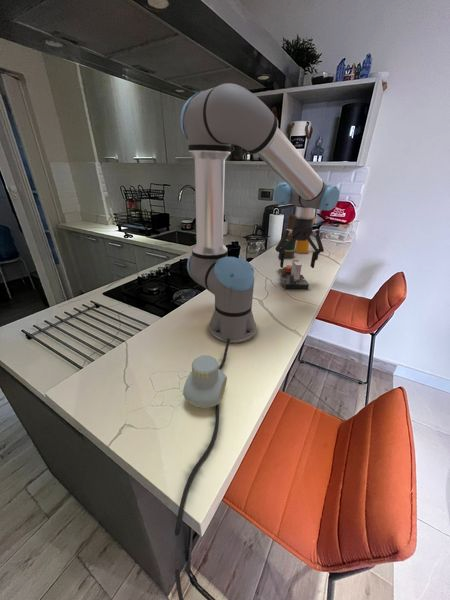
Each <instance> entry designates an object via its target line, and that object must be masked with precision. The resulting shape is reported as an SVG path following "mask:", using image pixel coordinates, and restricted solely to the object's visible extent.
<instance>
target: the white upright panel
mask: <svg viewBox="0 0 450 600" xmlns="http://www.w3.org/2000/svg"><path fill="white" fill-rule="evenodd" d="M291 266H292V269H291V275H290V277H291V279H292V280H293V282H299V278H300V275H301V273H302V267H303V266H302V263H301V262H300V260H299V259H292V262H291Z"/></svg>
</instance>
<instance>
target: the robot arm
mask: <svg viewBox="0 0 450 600" xmlns="http://www.w3.org/2000/svg"><path fill="white" fill-rule="evenodd" d="M179 119H180V120H179V121H180V128H181V132H182V135H183V136H184V137H185V140H186V141H187V146H188V153H189V154H190V156H191V157H192V158H193V160H194V193H195V194H194V195H195V197H194V201H195V233H196V235H195V237H196V243H195V245H193V246H192V248H191V254H190V256H189V257H188V259H187V263H186V269H187V273H188V275H189V276H190V278H191V279H192V280H193V281H194V282H195V283H197V284H198V285H200V286H201V287H203V288H204V289H206V290H207V291H208V292H210V293H211V294H212V295H213V296H214V311H213V313H212V316H211V319H210V322H209V333H210V335H211V337H213V338H214V339H215V340H217V341H219V342H221V343H225V349H224V352H223V357H222V360H221V363H220V365H218V369H219V370H221V371H222V369H223V367H224V365H225V362H226V359H227V354H228V350H229V346H230V344H242V343H245V342H248V341H250V340H251V339H253V337H254V336H255V335H256V330H257V326H256V325H257V324H256V321H255V317H254V315H253V310H252V309H253V308H252V307H253V297H254V287H255V270H254V267H253V265H252V264H251V263H250V262H249V261H247V260H246V259H244V258H241V257H236V256H228V251H229V250H228V247H226V245H225V244H224V220H225V219H224V218H225V216H224V215H225V179H226V178H225V177H226V176H225V175H226V172H225V171H226V170H225V169H226V160H227V158H228V157H229V156H230V155H231V151H232V145H235V146H238V147H240V148H242V149H244V150H245V151H246V153H248V154H249V155H257V156H258V157H259V158H260V159H261V160H262V161H264V163H265V164H266V165H267V166H268V167H269V168H270V169H271V170H272V171H273V172H275V173H276V174H277V176H279V178H281V179H282V180H283V182H278V184H277V185H276V186H275V187H274V189H273V199H274V201H275V203H276V204H277V205H280V206H287V205H292V206H295V212H294V214H295V216H296V217H295V218H294V226H293V229H292V230H288V229H287V228H285V230H284V232H285V233H284V232H283V234H284V235H283V234H282V236H281V238H280V240H279V241H278V243H277V245H276V247H275V251H276V252H277V253H278V260H279V261H280V262H279V267H280V269H282V268H284V262H285V261H284V260H285V258H284V255H285V253H284V251H285V250H286V249H287V248H288V247H289V246H290V245H291V244H292V243H293V242H295V241H301V240H302V241H305V240H308V242H309V246H311V248H312V249H313V251H312V255H311V261H310V268H311V269H314V268H315V264H316V261H318V259H319V255H320V253H324V251H325V250H324V246H323V243H322V238H321V236H320V229H318V228H315V229H313V226H314V223H313V221H314V219H313V217H314V215H315V209H317V210H319V211H332V210H333V209H334V208H335V207H336V206H337V204H338V202H339V200H340V189H339V187H338V186H337V185H332V184H326V183H325V181H324V180H322V178H321V177H320V175H318V173H317V172H316V170H314V168H313V167H312V166H311V165H310V163H308V161H307V160H306V158H305V157H303V155H302V154H301V153H300V152H299V150H298V149H297V148H296V147H295V146H294V145H293V143H292V142H291V141H290V140H289V138H288V137H287V136H286V135H285V134H284V133H283V131H282V130H281V129H280V128H279V120H278V118H277V117H276V115H275V114H274V113H273V112H272V111H271V109H270V108H269V107H268V106H267V105H266V103H264V102H263V101H262V100H261V98H259V97H258V96H257V95H256V94H254V93H253V92H251V91H250V90H248V89H247V88H245V87H243V86H241V85H239V84H236V83H231V82H227V83H226V82H225V83H221V84H219V85H217V86H215V87H212V88H208V89H206V90H201V91H198V92H196V93H195V94H193V95H192V96H191V97H189V98H188V99H187V100H186V101H185V103H184V104H183V106H182V109H181V112H180V118H179ZM291 233H292V234H293V236H292V237H291V238H290V239H289V240H288V241H287V242H286V243H285V244H284V242H285V240H286V239H287V237H288V235H290V234H291ZM312 235H313V236H314V237H315V241H316V243H317V245H316V244H315V243H314V241H313V240H312V238H311V236H312ZM283 244H284V245H283ZM282 245H283V246H282ZM219 404H220V403H219ZM219 404H218V405H216V406H215V421H214V429H213V433H212V436H211V440H210V442H209V444H208V446H207V448H206V449H205V451H204V453H203V454H202V456H201V457H200V458H199V459H198V460H197V462H196V463H195V465H194V467H193V468H192V470H191V472H190V474H189V477H188V479H187V481H186V482H185V485H184V488H183V491H182V495H181V498H180V503H179V508H178V512H177V517H176V523H175V529H174V535H175V536H176V537H177V536H179V534H180V533H181V527H182V521H183V516H184V509H185V504H186V500H187V497H188V493H189V490H190V487H191V484H192V483H193V479H194V477H195V475H196V473H197V472H198V469H199V468H200V467H201V465H202V464H203V462H204V461H205V460H206V459H207V457H208V456H209V454H210V452H211V451H212V449H213V447H214V444H215V441H216V439H217V435H218V430H219V422H220V405H219ZM180 574H181V571H180V569H179V568H177V569H176V568H175V569H174V576H175V585H176V593H177V596H178V600H184V596H183V591H182V584H181V575H180Z"/></svg>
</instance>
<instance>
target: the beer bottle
mask: <svg viewBox="0 0 450 600" xmlns="http://www.w3.org/2000/svg"><path fill="white" fill-rule="evenodd" d="M295 217H296V216H295V213H294V214H293V213H290V214H289V215H288V222H287V226H286V229H288V230H292V229H293V226H294V218H295ZM284 233H285V231H284V232H283V234H282V236H283V235H284ZM292 236H293V234H292V233H291V234H290V235H288V237H287V239H286V240H285V242H284V244H285V243H286V242H287V241H288V240H289V239H290V238H291V237H292ZM296 241H297V240H296ZM296 241H295V242H293V243H292V244H291V245H290V246H289V247H288V248H287V249H286V250H285V251H284V253H285V255H284V260H285V259H286V260H287V259H288V260H291V259H293V258H294V257H295V252H296V251H295V248H296ZM284 244H283V245H284ZM283 245H282V246H283Z"/></svg>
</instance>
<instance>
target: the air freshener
mask: <svg viewBox="0 0 450 600" xmlns="http://www.w3.org/2000/svg"><path fill="white" fill-rule="evenodd" d="M218 368H219V361H218V360H217V358H215V357H214V356H213V355H209V354H204V355H199V356H197V357H195V358H194V359H193V360H192V362H191V371H190V373H189V374H188V376H187V378H186V380H185V382H184V386H183V391H182V392H183V393H182V395H183V397H184V398H185V400H186V401H187V402H188V403H189V404H191V405H192V406H194V407H197V408H202V409H207V408H208V409H209V408H212V407H216V405H218V404H220V403H221V401H222V399H223V396H224V394H225V390H226V387H227V381H228V376H227V375H226V373H225V372H224V371H223V370H222V369H221V370H219V369H218Z"/></svg>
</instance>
